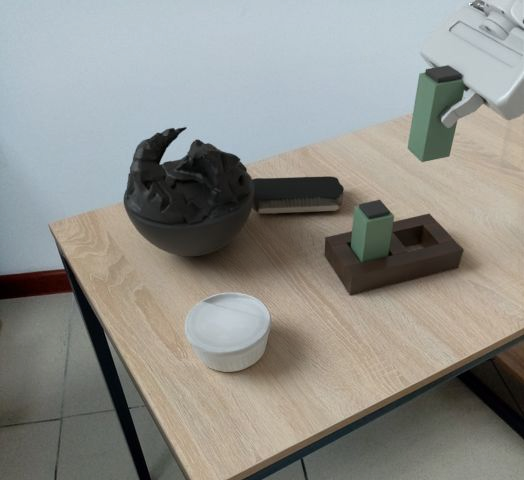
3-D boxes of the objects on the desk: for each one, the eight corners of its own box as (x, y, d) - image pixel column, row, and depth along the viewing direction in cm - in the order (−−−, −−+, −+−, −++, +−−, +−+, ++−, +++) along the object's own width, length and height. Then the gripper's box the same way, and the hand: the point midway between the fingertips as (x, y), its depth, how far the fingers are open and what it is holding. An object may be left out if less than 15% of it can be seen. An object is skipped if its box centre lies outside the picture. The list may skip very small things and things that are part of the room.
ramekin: (265, 313, 76) (263, 285, 72) (279, 372, 69) (278, 344, 65) (187, 325, 75) (181, 297, 71) (193, 385, 68) (187, 358, 64)
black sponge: (249, 219, 92) (248, 200, 89) (250, 193, 98) (249, 174, 95) (343, 216, 92) (345, 197, 89) (339, 190, 97) (340, 171, 95)
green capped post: (434, 143, 75) (450, 62, 67) (449, 156, 72) (467, 74, 65) (407, 148, 74) (420, 68, 67) (421, 162, 72) (436, 80, 64)
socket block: (458, 268, 81) (464, 249, 78) (349, 295, 78) (351, 277, 75) (425, 231, 87) (429, 213, 85) (324, 255, 84) (325, 237, 82)
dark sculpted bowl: (128, 226, 93) (97, 119, 79) (236, 200, 97) (225, 93, 83) (151, 296, 80) (120, 184, 66) (275, 263, 84) (270, 150, 70)
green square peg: (373, 256, 84) (381, 196, 76) (385, 272, 81) (395, 212, 73) (349, 262, 83) (354, 202, 75) (360, 278, 80) (367, 218, 72)
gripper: (461, -22, 68) (383, 71, 74) (566, 25, 55) (461, 134, 61) (483, 13, 72) (407, 98, 78) (586, 64, 59) (485, 163, 65)
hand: (431, 114), depth 69 cm, fingers closed on green capped post, 4 cm apart
